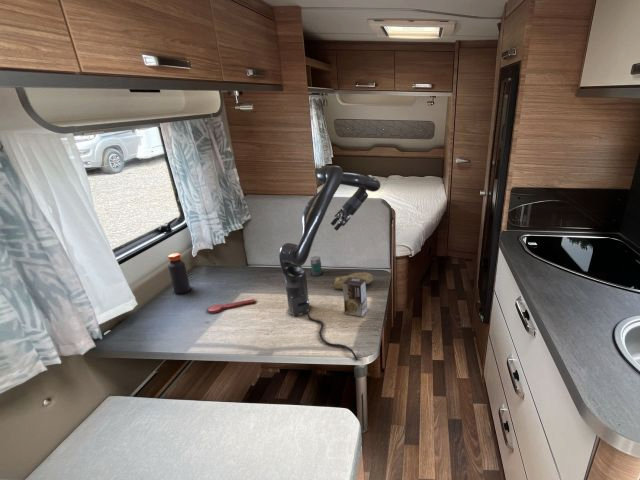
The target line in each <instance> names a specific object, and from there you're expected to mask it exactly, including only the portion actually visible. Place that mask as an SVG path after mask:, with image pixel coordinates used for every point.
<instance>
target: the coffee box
mask: <svg viewBox="0 0 640 480" xmlns="http://www.w3.org/2000/svg"><path fill="white" fill-rule="evenodd" d="M342 292H343V293H342V294H343V305H344V314H346V315H351V316H357V317H364V316H365V314H366V312H367V311H368V293H367V284H366V280H364V279H357V278H350V277H349V278H347V280H346V281H345V282H344V283H343V289H342Z"/></svg>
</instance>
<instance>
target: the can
mask: <svg viewBox="0 0 640 480" xmlns="http://www.w3.org/2000/svg"><path fill="white" fill-rule="evenodd" d="M321 258H322V257H321V256H319V255H314V256H313V255H312V256H311V257H310V268H311V269H310V270H311V275H312V276H313V277H319V276H321V275H322V274H323V272H322V259H321Z"/></svg>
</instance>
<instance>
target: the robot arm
mask: <svg viewBox="0 0 640 480" xmlns="http://www.w3.org/2000/svg"><path fill="white" fill-rule="evenodd" d="M316 174H317V179H318V181H319V182H320V184H323V186H322V187H321V189H320V190H319V191H318V192H317V193H316V194H315V195H314V196H312V197H311V199H309V201H308V202H307V204H306V205H305V208H304V210H303V211H302V214H301V227H302V232H301V233H302V234H301V236H300V239H299V242H298V243H297V244H296V243H292V242H291V243H290V242H287V243H284V244H283V245H282V246H281V247H280V249H279V254H278V257H279V265H280V268H281V274H282V275H283V277H284V283H285V291H286V298H287V307H288V313H289V314H290V315H292V316H293V317H298V316H302V315H306V316H307V317H308V319H309V320H310V321H312V322H316V323H319V324H321V327H320V329H319V333H318V334H319V338H320V340H321V341H322V342H323V343H324V344H326V345H328V346H332V347H333V346H334V347H342V348H345V349H346V350H348V351H349V352H350V353H351V354H352V356H353V357H354V359H355V361H358V360H359V359H358V356H357V355H356V353H355V351H353V349H352V348H350V347H349V346H347V345H345V344H339V343H331V342H328V341H326V340H325V339H324V338H323V336H322V330H323V328H324V323H323V322H322V321H321V320H318V319H314V318H312V317H311V316H310V313H309V312H310V310H311V308H310V307H311V306H310V300H309V289H308V281H307V280H308V279H307V271H306V270H305V268H303V267H302V266H304V264H305V263H306V262H307V260H308V258H309V255H310V252H311V249H312V246H313V244H314V240H315V237H316V235H317V233H318V231H319V228H320V226H321V224H322V222H323V220H324V218H325V215H326V213H327V210H328V209H329V206H330V205H331V202H332V200H333V198H334V196H335V194H336V193H337V191H338V189H339V187H340V186H341V185H343V186H349V187H353V188H357V190H355V192H353V194H352V195H351V196H350V197H349V198H348V199H347V201H346V202H345V203H344V204H343V205H342V206H341V208H340V209H339V210H338V211H337V212H336V214H335V215H334V218H333V220H332V221H331V222H330V225H331V226H334V227H333V230H335V231H339V229H340V228H341V227H344V226H345V225H346V224H347V223H348V222H349V221H350V219H351V217H350V216H354V215H355V213H357V211H358V210H359V209H360V208H361V206H362V205H363V204H364V203H365V201H366V200H367V199H368V197H369V194H368V192H371V193H372V192H373V193H375V192H378V191H379V190H380V188H381V182H380V180H379V179H377V178H376V177H375V176H373V175H371V174H367V175H364V174H360V173H355V172H344V171H343V168H342V167H341V166H339V165H324V166H321V167H319V169H318V170H317V173H316ZM367 191H368V192H367ZM360 398H361V399H360V400H361V425H362V431H365V413H364V411H365V410H364V392H362V393H361V397H360Z"/></svg>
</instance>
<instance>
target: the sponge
mask: <svg viewBox="0 0 640 480" xmlns="http://www.w3.org/2000/svg"><path fill="white" fill-rule="evenodd" d="M349 277H350V278H357V279H364V280H366V285H369V284H370V283H372V282H373V281H374V274H371V273H370V272H364V271H363V272H352V273H350V274H348V275H341V276H337V277H335V279H334V282H333V287H334V288H335V290H343V283H344V282H345V281H346V280H347V278H349Z"/></svg>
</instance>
